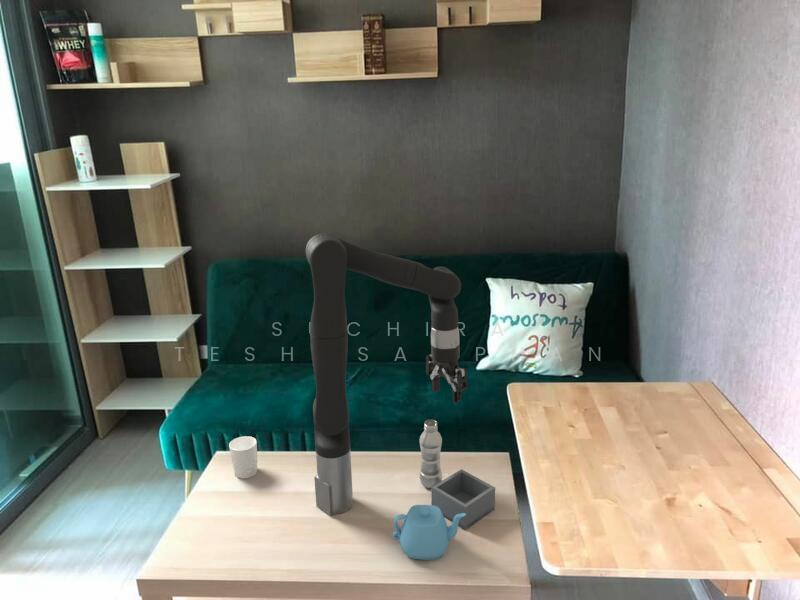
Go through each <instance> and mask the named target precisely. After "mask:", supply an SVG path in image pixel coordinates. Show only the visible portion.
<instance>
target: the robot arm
mask: <svg viewBox="0 0 800 600" xmlns="http://www.w3.org/2000/svg"><path fill="white" fill-rule="evenodd" d="M305 257H306V259H307V262H308V264H309V267H310V271H311V275H312V276H311V277H312V285H313V294H314V295H313V299H314V300H313V306H312V311H311V315H310V316H311V317H310V327H309V332H310V333H309V335H310V338H309V339H310V353H311V360H312V367H313V373H314V374H313V375H314V380H315V388H316V389H315V391H316V393H315V398H314V400H313V404H312V416H313V428H314V429H313V430H314V432H313V433H314V445H315V459H316V473H317V474H315V476H314V490H315V493H314V494H315V505H316V507H317V508H319V509H320V510H321V511H323V513H325V514H326V515H328V516H332V515H337V514H342V513H346V512H347V511H348V510H350V509H351V508H352V507H353V504H354V495H353V477H352V475H353V473H352V456H351V454H352V453H351V437H350V435H351V434H350V424H349V423H350V422H349V421H350V409H349V405H348V401H347V400H348V399H347V392H346V390H347V389H346V376H347V367H348V365H347V364H348V350H349V349H348V347H349V346H348V343H349V342H348V341H349V340H348V339H349V337H348V332H349V331H348V330H349V329H348V319H347V317H348V315H347V307H346V298H345V295H346V294H345V291H346V290H345V289H346V279H347V277H346V276H347V271H351V272H356V273H360V274H363V275H365V276H368V277H371V278H373V279H375V280H377V281H380V282H384V283H386V284H389V285H392V286H395V287H400V288H403V289H408V290H413V291H418V292H421V293H423V294H424V295H427V296H428V301H429V304H430V305H429V306H430V310H431V312H430V318H431V325H430V326H431V329H430V330H431V331H430V346H431V347H430V349H431V350H430V351H431V352H430V353H431V354H429V355H426V357H425V374H426V375H427V376H429V377H430V380H431V388H432V392H434V393H437V392H439V391H441V378H440V377H443V378H444V379H445V380H447V383H448V384H449V385H451V388H452V402H453V403H454V404H458V403H461V401H462V391H465V390H468V376H467V374H468V373H467V368H465V367H463V368H461V367H459V364H458V361H459V359H460V357H461V355H460V353H461V352H460V350H461V349H460V346H461V345H460V331H459V311H458V307H457V306H456V303H455V300H454V299H455V298H456V297H457V296H459V294H460V293H461V289H462V282H461V280H460V278H459V277H458V275H457V274H455V273H454V272H453V271H451V270H450V269H449V268H447V267H445V266H436V267H434V268H431V267H428V266H425V265H424V264H422V263H420V262H417V261H413V260H410V259H406V258H402V257H398V256H394V255H390V254H386V253H381V252H377V251H373V250H370V249H367V248H363V247H361V246H357V245H355V244H353V243H349V242H348V241H346V240H344V239H341V238H339V237H336V236H335V235H332V234H331V233H326V232H325V233H318V234H315V235H314V236H312V237H311V238H310V239H309V240H308V241H307V243H306V247H305ZM454 377H455V378H454ZM456 384H457V385H456Z"/></svg>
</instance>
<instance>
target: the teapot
mask: <svg viewBox="0 0 800 600" xmlns="http://www.w3.org/2000/svg"><path fill="white" fill-rule="evenodd" d="M465 515H466V513H460V514H457V515H456V516H455V517H454V519H453V523H452V522H451V525H449V526H448V524H447V523H448V522H447V520H446V518H445V517H444V516H443V514H442V512H441V510H440V509H439V508H438V507H437V506H433V505H432V504H415V505H412V506H411V507H410V508H409V510H408V512H407V513H406V514H398V515H396V516H395V518H394V520H393V526H394V529H395V531H394V532H393V534H392V538H393V539H394V540H396V541H400V545H401V549H402V551H403V552H404V554H405V556H407V557H409V558H410V559H415V560H424V561H428V560H429V561H433V560H438V559H441V557H442V556H443V555H444V554H445V552H446V551H447V549H448V547H449V543H450V542H449V541H450V540H452V539H454V538H455V537H456V535H457V532H458V528H459V526H458V523H459V520H460V519H461V518H462V517H463V516H465ZM401 520H403V522H402V525H401V528H400V526H399V525H398V521H401Z"/></svg>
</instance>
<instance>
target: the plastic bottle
mask: <svg viewBox="0 0 800 600" xmlns="http://www.w3.org/2000/svg"><path fill="white" fill-rule="evenodd" d="M423 430H424V431H423V432H422V433H421V435H420V436H419V447H420V455H421V456H420V457H421V465H420V472H419V480H420V483H421V485H422V486H423V487H425V488H427V489H432V487H433V486H434V485H436V484H438V483H439V482H441V481H443V473H442V469H441V450H442V444H443V438H442V436H441V433H440V432H439V431H438V421H436V420H435V419H427V420H425V421H424V426H423Z"/></svg>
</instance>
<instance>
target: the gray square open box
mask: <svg viewBox="0 0 800 600" xmlns="http://www.w3.org/2000/svg"><path fill="white" fill-rule="evenodd" d="M431 505H433V506H437V507H438V508H439V509H440V510H441V512H442V514H443V516H444V518H445V520H448V521H449V522H451V524H452V523H453V519H454V517H455V516H456V515H457V514H460V513H466V515H465V516H463V517H462V518H461V519H460V520H459V523H458V528H461V529H462V530H463V531H466V530H467V529H470V527H472V526H473V525H475V524H476V523H477V522H479V521H481V520H482V519H483V518H485V517H486V516H488V515H489V514H491V513H492V512H494V511H495V507H496V487H495V486H493V485H491V484H490V483H488V482H485V481H484V480H482V479H481V478H479V477H477V476H475V475H473V474H471V473H469V472H467V471H466V470H464V469H463V468H462V469H459V470H458V471H456V472H454V473H453V474H451V475H450V476H448V477H446V478H444V479H442V481H441V482H439V483H438V484H436V485H434V486H433V487H432V488H431Z"/></svg>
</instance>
